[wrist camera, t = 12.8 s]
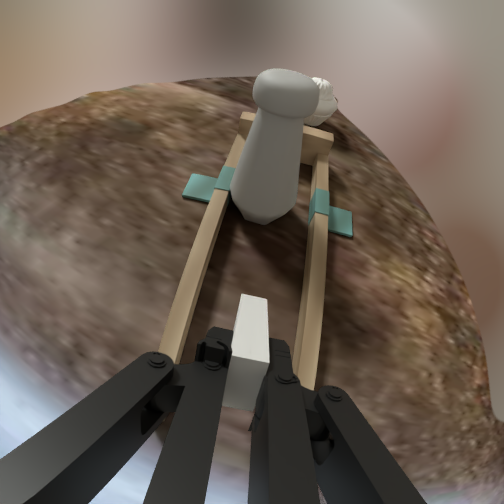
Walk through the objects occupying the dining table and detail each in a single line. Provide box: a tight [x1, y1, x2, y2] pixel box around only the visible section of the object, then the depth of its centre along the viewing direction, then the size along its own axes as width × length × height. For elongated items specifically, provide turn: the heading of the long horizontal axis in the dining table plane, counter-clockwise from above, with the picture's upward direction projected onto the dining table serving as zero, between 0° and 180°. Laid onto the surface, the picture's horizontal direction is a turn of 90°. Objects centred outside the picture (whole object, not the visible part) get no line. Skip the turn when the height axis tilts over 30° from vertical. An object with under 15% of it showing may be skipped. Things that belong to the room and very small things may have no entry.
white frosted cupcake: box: [304, 78, 337, 126], centre depth 33 cm, size 6×6×7 cm
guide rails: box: [158, 112, 352, 421], centre depth 21 cm, size 16×29×4 cm, turn 169°
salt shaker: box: [230, 69, 320, 225], centre depth 20 cm, size 6×6×13 cm
